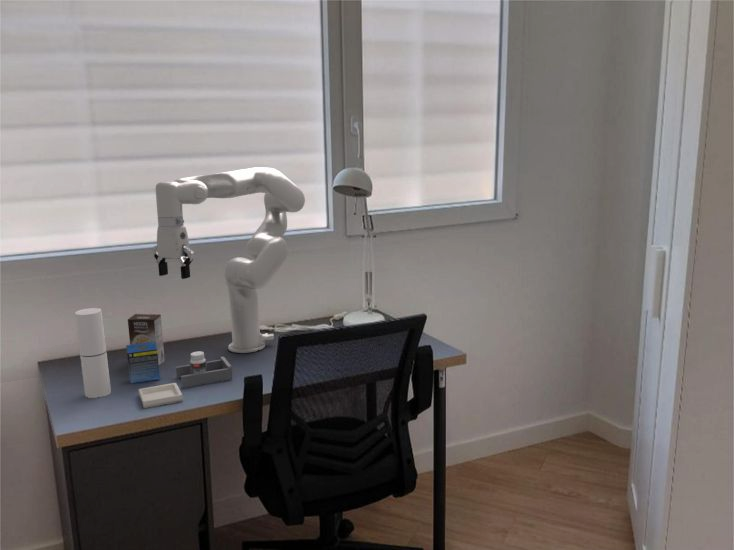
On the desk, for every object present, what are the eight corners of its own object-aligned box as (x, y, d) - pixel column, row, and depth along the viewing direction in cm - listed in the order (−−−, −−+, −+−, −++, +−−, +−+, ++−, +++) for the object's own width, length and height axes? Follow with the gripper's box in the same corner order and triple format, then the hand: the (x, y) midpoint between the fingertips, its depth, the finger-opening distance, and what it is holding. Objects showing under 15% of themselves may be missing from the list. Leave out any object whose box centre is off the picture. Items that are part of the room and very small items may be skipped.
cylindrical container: (95, 399, 204) (85, 315, 199) (79, 395, 208) (69, 312, 203) (116, 391, 210) (106, 309, 205) (100, 387, 214) (90, 306, 208)
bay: (224, 369, 226) (223, 356, 225) (232, 379, 217) (231, 366, 216) (176, 377, 220) (175, 364, 219) (182, 388, 211) (181, 374, 210)
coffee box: (131, 366, 231) (125, 319, 228) (139, 360, 237) (134, 313, 234) (158, 367, 230) (153, 319, 227) (165, 360, 236) (161, 313, 233)
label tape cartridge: (159, 375, 222) (156, 337, 220) (160, 379, 219) (156, 341, 216) (130, 379, 220) (125, 341, 217) (130, 384, 216) (125, 345, 213)
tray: (176, 388, 211) (175, 382, 210) (182, 401, 201) (182, 394, 201) (139, 395, 206) (138, 389, 206) (144, 408, 197) (143, 401, 197)
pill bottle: (193, 383, 215) (191, 357, 213) (189, 378, 219) (187, 352, 217) (209, 380, 217) (206, 354, 215) (205, 375, 221) (202, 349, 219)
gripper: (200, 222, 218) (203, 277, 222) (160, 219, 227) (164, 272, 231) (181, 225, 212) (185, 281, 215) (141, 222, 221) (146, 276, 224)
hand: (174, 276), depth 223 cm, fingers open, 9 cm apart
